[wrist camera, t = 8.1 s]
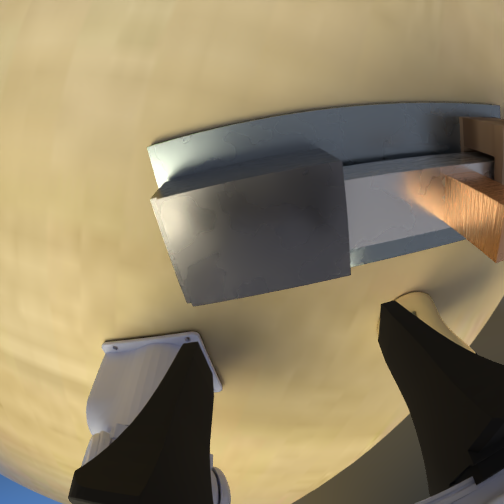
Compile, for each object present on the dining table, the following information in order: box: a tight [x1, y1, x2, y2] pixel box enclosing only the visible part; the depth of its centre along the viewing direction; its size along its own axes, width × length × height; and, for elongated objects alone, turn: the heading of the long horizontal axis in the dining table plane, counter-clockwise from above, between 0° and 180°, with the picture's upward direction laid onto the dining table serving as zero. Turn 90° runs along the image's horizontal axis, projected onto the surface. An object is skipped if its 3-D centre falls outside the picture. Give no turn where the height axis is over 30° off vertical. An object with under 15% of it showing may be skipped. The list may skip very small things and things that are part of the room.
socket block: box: [459, 117, 504, 185], centre depth 16 cm, size 4×9×5 cm, turn 12°
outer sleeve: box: [147, 102, 500, 306], centre depth 17 cm, size 26×11×5 cm, turn 102°
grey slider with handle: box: [343, 151, 504, 263], centre depth 14 cm, size 16×4×8 cm, turn 102°
